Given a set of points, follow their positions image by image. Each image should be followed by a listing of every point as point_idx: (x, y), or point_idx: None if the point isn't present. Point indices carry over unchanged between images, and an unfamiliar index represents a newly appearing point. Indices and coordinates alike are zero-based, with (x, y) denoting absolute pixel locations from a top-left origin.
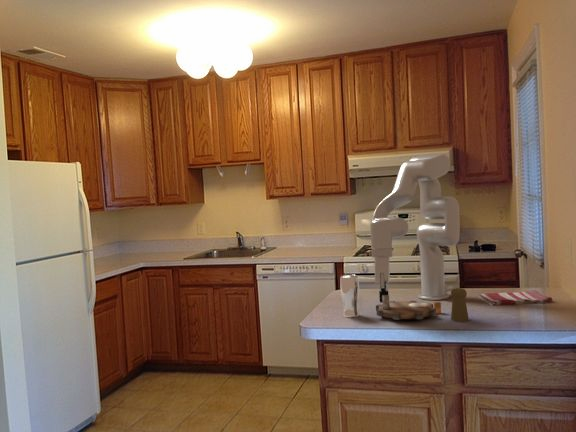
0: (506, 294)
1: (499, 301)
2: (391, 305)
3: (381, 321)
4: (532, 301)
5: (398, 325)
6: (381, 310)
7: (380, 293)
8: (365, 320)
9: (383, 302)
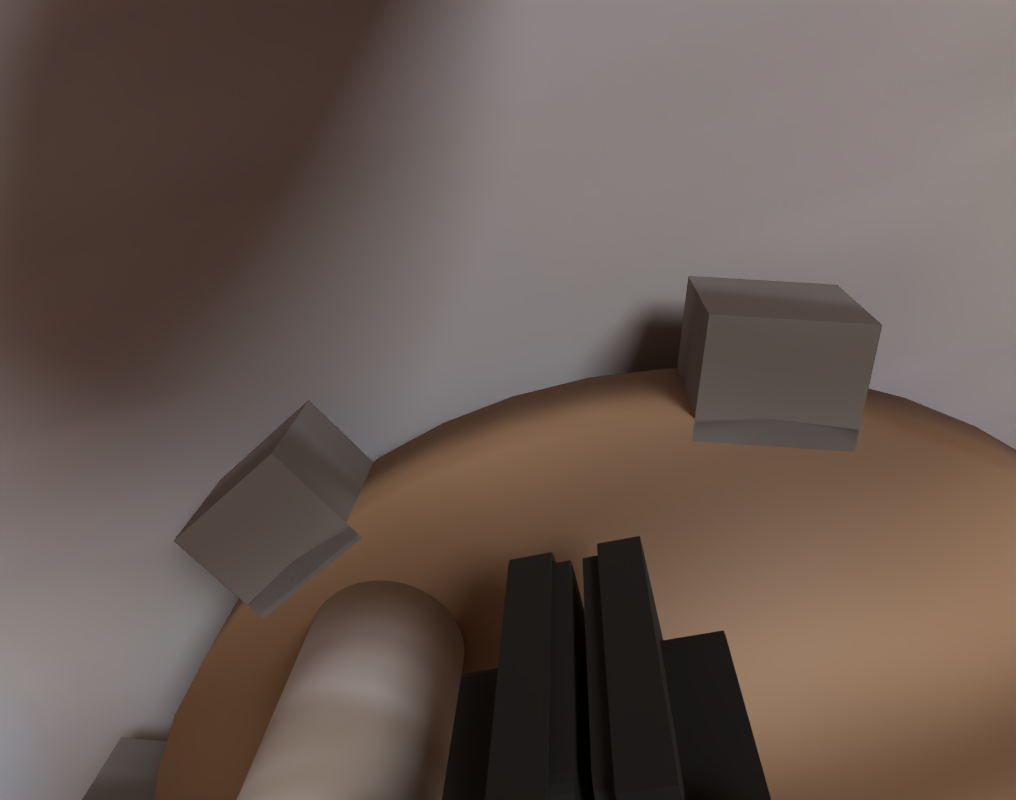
0: None
1: None
2: (792, 669)
3: (170, 503)
4: None
5: (61, 781)
6: (231, 581)
7: (506, 789)
8: (106, 187)
9: (264, 738)
